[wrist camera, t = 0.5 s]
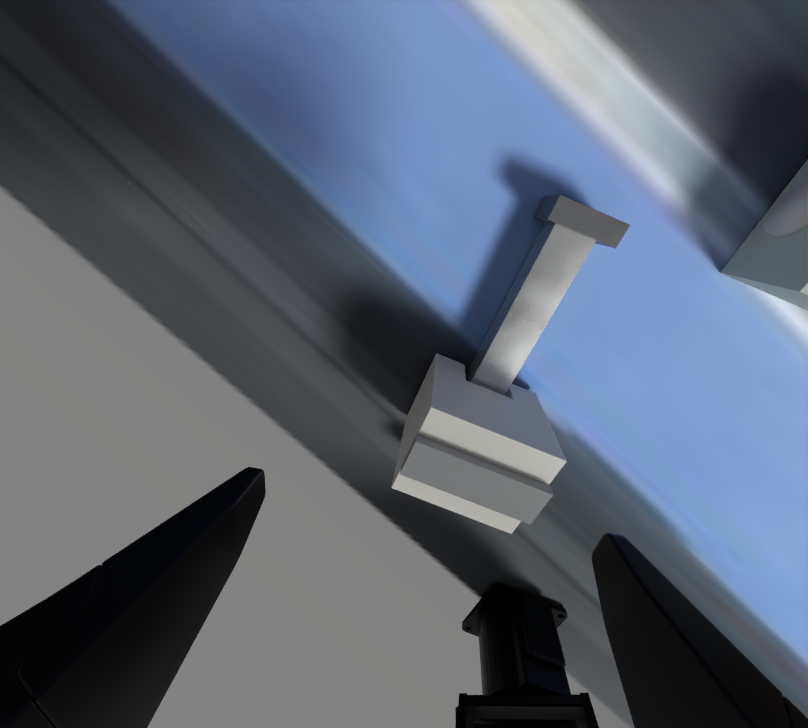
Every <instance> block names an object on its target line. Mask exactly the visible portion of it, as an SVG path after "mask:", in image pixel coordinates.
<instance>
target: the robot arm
mask: <svg viewBox="0 0 808 728" xmlns="http://www.w3.org/2000/svg"><path fill="white" fill-rule="evenodd" d="M264 497H265V476H264V471H263V470H262V469H258V468H252V467H248V468H245V469H244V470H243V471H241V472H239V473H238V474H236V475H235V476H233V477H232V478H230V479H229V480H227V481H226V482H224V483H223V484H221V485H219V486H218V487H216V488H215V489H213V490H212V491H210V492H209V493H207V494H206V495H204V496H203V497H201V498H200V499H198V500H197V501H195V502H194V503H192V504H191V505H189V506H188V507H186V508H184V509H183V510H181V511H180V512H178V513H177V514H175V515H174V516H172V517H171V518H169V519H168V520H166V521H165V522H163V523H162V524H160V525H159V526H157V527H156V528H154V529H153V530H151V531H150V532H148V533H147V534H145V535H143V536H142V537H140V538H139V539H137V540H136V541H134V542H133V543H131V544H130V545H128V546H127V547H125V548H124V549H122V550H121V551H119V552H118V553H116V554H115V555H113V556H112V557H110V558H109V559H107V560H106V561H104V562H103V563H102V565H98V566H96V567H95V568H93V569H92V570H90V571H89V572H87V573H86V574H84V575H83V576H81V577H80V578H78V579H76V580H75V581H74V582H72V583H70V584H69V585H67V586H66V587H64V588H62V589H61V590H59V591H58V592H56V593H54V594H53V595H51V596H50V597H48V598H47V599H45V600H43V601H41V602H40V603H38V604H36V605H35V606H33V607H31V608H30V609H28V610H26V611H25V612H23V613H21V614H20V615H18V616H16V617H14V618H13V619H11V620H9V621H8V622H6V623H5V624H3V625H1V626H0V728H147V727H148V725H149V723H150V721H151V720H152V718H153V716H154V714H155V712H156V710H157V708H158V707H159V705H160V703H161V701H162V699H163V697H164V696H165V693H166V692H167V690H168V688H169V686H170V685H171V683H172V681H173V679H174V677H175V675H176V674H177V672H178V670H179V668H180V666H181V664H182V662H183V661H184V659H185V657H186V655H187V653H188V651H189V650H190V648H191V646H192V644H193V642H194V640H195V638H196V637H197V635H198V633H199V631H200V629H201V628H202V626H203V624H204V622H205V620H206V618H207V616H208V615H209V613H210V611H211V609H212V607H213V605H214V604H215V602H216V600H217V598H218V596H219V594H220V592H221V590H222V589H223V587H224V585H225V583H226V582H227V580H228V578H229V576H230V574H231V572H232V571H233V568H234V567H235V565H236V563H237V561H238V559H239V557H240V555H241V553H242V550H243V548H244V546H245V543H246V541H247V539H248V536H249V534H250V531H251V529H252V526H253V524H254V522H255V519H256V517H257V514H258V512H259V510H260V507H261V505H262V503H263V500H264ZM592 563H593V568H594V573H595V578H596V584H597V589H598V594H599V599H600V604H601V609H602V614H603V619H604V623H605V627H606V631H607V635H608V638H609V642H610V645H611V649H612V652H613V655H614V659H615V662H616V666H617V669H618V672H619V676H620V679H621V683H622V686H623V689H624V693H625V696H626V700H627V703H628V706H629V710H630V713H631V716H632V720H633V723H634V727H635V728H808V718H807V717H806V716H805V715H804V714H803V713H802V712H801V711H800V710H799V709H798V708H797V707H796V706H795V705H794V704H793V703H792V702H791V701H790V700H789V699H788V698H786V697H784V696H783V695H782V693H781V692H780V691H779V690H778V689H777V688H776V687H775V686H774V685H773V684H772V683H771V682H770V681H769V680H768V679H767V678H766V677H765V676H764V675H763V674H762V673H761V672H760V671H759V670H758V669H757V668H756V667H755V666H754V665H753V664H752V663H751V662H750V661H749V660H748V659H747V658H746V657H745V656H744V655H743V654H742V653H741V652H740V651H739V650H738V649H737V648H736V647H735V646H734V645H733V644H732V643H731V642H730V641H729V640H728V639H727V638H726V637H725V636H724V635H723V634H722V633H721V632H720V631H719V630H718V629H717V628H716V627H715V626H714V625H713V624H712V623H711V622H710V621H709V620H708V619H707V618H706V617H705V616H704V615H703V614H702V613H701V612H700V611H699V610H698V609H697V608H696V607H695V606H694V605H693V604H692V603H691V602H690V601H689V600H688V599H687V598H686V597H685V596H684V595H683V594H682V593H681V592H680V591H679V590H678V589H677V588H676V587H675V586H674V585H673V584H672V583H671V582H670V581H669V580H668V579H667V578H666V577H665V576H664V575H663V574H662V573H661V572H660V571H659V570H658V569H657V568H656V567H655V566H654V565H653V564H652V563H651V562H650V561H649V560H648V559H647V558H646V557H645V556H644V555H643V554H642V553H641V552H640V551H639V550H638V549H637V548H636V547H635V546H634V545H633V544H632V543H631V542H630V541H629V540H628V539H627V538H625V537H624V536H622V535H619V534H614V533H605V534H604V535H603V536H602V538H601V539H600V541H599V543H598V544H597V546H596V547H595V549H594V551H593V554H592ZM567 617H568V616H567V612H566V609H565V608H563V607H560V606H557V605H555V604H552V603H550V602H547V601H544V600H542V599H539V598H536V597H534V596H531V595H528V594H526V593H523V592H520V591H518V590H515V589H512V588H510V587H507V586H504V585H502V584H498V583H495V584H493V585H492V586H491V587H490V588H489V589H488V591H487V592H486V593H485V594H484V596H483V597H482V598H481V599H480V601H479V602H478V603H477V604H476V606H475V607H474V608H473V610H472V611H471V612H470V613H469V615H468V616H467V617H466V618H465V620H464V621H463V622H462V629H463V630H464V631H466V632H468V633H470V634H473V635H476V636H478V637H479V646H480V661H481V676H482V691H483V695H467V693H460V694H459V706H458V707H456V728H599V727H598V723H597V720H596V717H595V714H594V710H593V707H592V704H591V701H590V697H589V694H588V693H580V695H571V692H570V688H569V685H568V680H567V676H566V672H565V668H564V667H565V666H566V664H565V659H564V655H563V651H562V647H561V643H560V640H559V636H558V632H557V627H558V626H559V625H560V624H561V623H562V622H563V621H564V620H565V619H566V618H567Z"/></svg>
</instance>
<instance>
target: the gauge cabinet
mask: <svg viewBox="0 0 808 728" xmlns="http://www.w3.org/2000/svg"><path fill="white" fill-rule="evenodd" d="M720 273H722V274H725V275H727V276H729V277H731V278H734V279H736V280H738V281H741V282H743V283H745V284H748V285H750V286H752V287H755V288H757V289H759V290H762V291H764V292H766V293H769V294H771V295H773V296H776V297H778V298H780V299H782V300H785V301H787V302H789V303H792V304H794V305H796V306H799V307H801V308H803V309H806V310H808V159H807V161H806V162H805V163H804V164H803V166H802V167H801V168H800V170H799V171H798V172H797V173H796V175H795V176H794V177H793V179H792V180H791V181H790V183H789V184H788V185H787V186H786V188H785V189H784V190H783V192H782V193H781V194H780V195H779V197H778V198H777V199H776V201H775V202H774V203H773V205H772V206H771V207H770V208H769V210H768V211H767V212H766V214H765V215H764V216H763V218H762V219H761V220H760V221H759V223H758V224H757V225H756V227H755V228H754V229H753V230H752V232H751V233H750V234H749V236H748V237H747V238H746V240H745V241H744V242H743V243H742V245H741V246H740V247H739V249H738V250H737V251H736V253H735V254H734V255H733V256H732V258H731V259H730V260H729V262H728V263H727V264H726V265H725V267H724V268H723V269H722V271H721V272H720Z"/></svg>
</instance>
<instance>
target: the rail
mask: <svg viewBox="0 0 808 728" xmlns="http://www.w3.org/2000/svg"><path fill="white" fill-rule="evenodd" d="M534 218H536V219H538V220H541V221H543V222H544V224H543V226H542V228H541V230H540V232H539V234H538V236H537V238H536V240H535V242H534V244H533V246H532V247H531V249H530V251H529V253H528V255H527V257H526V259H525V261H524V263H523V265H522V267H521V269H520V271H519V273H518V274H517V276H516V278H515V280H514V282H513V284H512V286H511V288H510V290H509V292H508V294H507V296H506V298H505V299H504V301H503V303H502V305H501V307H500V309H499V311H498V313H497V315H496V317H495V319H494V321H493V323H492V325H491V326H490V328H489V330H488V332H487V334H486V336H485V338H484V340H483V342H482V344H481V346H480V348H479V350H478V351H477V353H476V355H475V357H474V359H473V361H472V363H471V365H470V367H469V369H468V371H467V373H466V381H469V382H471V383H474V384H476V385H479V386H481V387H484V388H486V389H489V390H491V391H494V392H496V393H499V394H501V395H504V396H505V394H506V392H507V391H508V389H509V387H510V385H511V384H512V382H513V380H514V379H515V377H516V375H517V374H518V372H519V370H520V369H521V367H522V365H523V364H524V362H525V360H526V358H527V357H528V355H529V353H530V352H531V350H532V348H533V347H534V345H535V343H536V342H537V340H538V338H539V337H540V335H541V333H542V332H543V330H544V328H545V326H546V325H547V323H548V321H549V320H550V318H551V316H552V315H553V313H554V311H555V310H556V308H557V306H558V305H559V303H560V301H561V299H562V298H563V296H564V294H565V293H566V291H567V289H568V288H569V286H570V284H571V283H572V281H573V279H574V278H575V276H576V274H577V272H578V271H579V269H580V267H581V266H582V264H583V262H584V261H585V259H586V257H587V256H588V254H589V252H590V251H591V249H592V247H593V246H594V244H595V243H596V244H600V245H604V246H608V247H612V248H616V247H617V245H618V244H619V242H620V241H621V239H622V237H623V236H624V234H625V232H626V231H627V229H628V228H629V226H630V225H629V224H627V223H625V222H622V221H620V220H618V219H615V218H613V217H611V216H608V215H606V214H604V213H601V212H599V211H597V210H595V209H592V208H590V207H588V206H585V205H583V204H581V203H578V202H576V201H574V200H571V199H569V198H567V197H564V196H562V195H554V196H546V197H544V198H543V200H542V202H541V204H540V206H539V208H538V210H537V212H536V214H535V216H534Z"/></svg>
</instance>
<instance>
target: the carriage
mask: <svg viewBox="0 0 808 728" xmlns="http://www.w3.org/2000/svg"><path fill="white" fill-rule="evenodd" d="M566 462H567V461H566V458H565V456H564V454H563V452H562V450H561V447H560V445H559V443H558V441H557V439H556V437H555V434H554V432H553V430H552V428H551V426H550V424H549V421H548V419H547V417H546V415H545V413H544V410H543V408H542V406H541V404H540V402H539V400H538V397H537V395H536V393H534V392H531V391H529V390H526V389H524V388H521V387H519V386H516V385H514V384H511V385H510V387H509V389H508V391H507V392H506V394H505V396H504V395H501V394H499V393H496V392H494V391H491V390H489V389H486V388H484V387H481V386H479V385H476V384H474V383H471V382H469V381H466V375H465V365H464V364H462V363H460V362H457V361H455V360H452V359H450V358H447V357H445V356H442V355H440V354H437V353H436V355H435V357H434V359H433V361H432V364H431V366H430V368H429V370H428V372H427V374H426V377H425V379H424V381H423V383H422V385H421V387H420V390H419V392H418V394H417V396H416V398H415V400H414V402H413V405H412V407H411V409H410V411H409V413H408V415H407V418H406V421H405V426H404V430H403V435H402V440H401V445H400V449H399V454H398V459H397V464H396V468H395V473H394V478H393V483H392V487H391V488H393V489H396V490H398V491H401V492H403V493H406V494H409V495H411V496H414V497H416V498H419V499H422V500H424V501H427V502H429V503H432V504H435V505H437V506H440V507H442V508H445V509H448V510H450V511H453V512H455V513H458V514H461V515H463V516H466V517H468V518H471V519H474V520H476V521H479V522H481V523H484V524H487V525H489V526H492V527H494V528H497V529H500V530H502V531H505V532H507V533H510V534H512V533H513V531H514V530H515V529H516V527H517V526H518V525H519V524H520V522H521V521H522V522H524V523H527V524H531V523H532V522H533V520H534V519H535V518H536V517H537V515H538V514H539V513H540V511H541V510H542V509H543V508H544V506H545V505H546V504H547V503H548V501H549V500H550V499H551V497H552V496H553V493H552V490H551V488H550V485H549V484H550V483H551V481H552V480H553V479H554V477H555V476H556V475H557V473H558V472H559V471H560V469H561V468H562V467H563V466H564V464H565V463H566Z"/></svg>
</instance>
